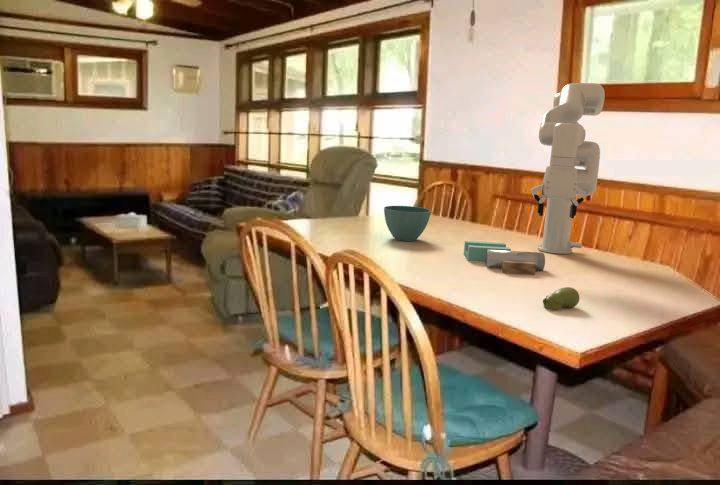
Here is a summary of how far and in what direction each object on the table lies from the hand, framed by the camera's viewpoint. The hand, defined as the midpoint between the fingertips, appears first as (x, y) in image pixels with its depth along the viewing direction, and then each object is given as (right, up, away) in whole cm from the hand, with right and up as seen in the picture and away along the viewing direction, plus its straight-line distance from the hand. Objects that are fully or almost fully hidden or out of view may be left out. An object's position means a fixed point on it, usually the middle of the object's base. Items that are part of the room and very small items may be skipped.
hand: (556, 216), depth 189 cm
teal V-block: (-19, -14, +16) cm, 29 cm away
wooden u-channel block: (-13, -17, +3) cm, 21 cm away
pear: (-11, -25, -37) cm, 46 cm away
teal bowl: (-45, -7, +45) cm, 64 cm away
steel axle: (-12, -14, +4) cm, 19 cm away
